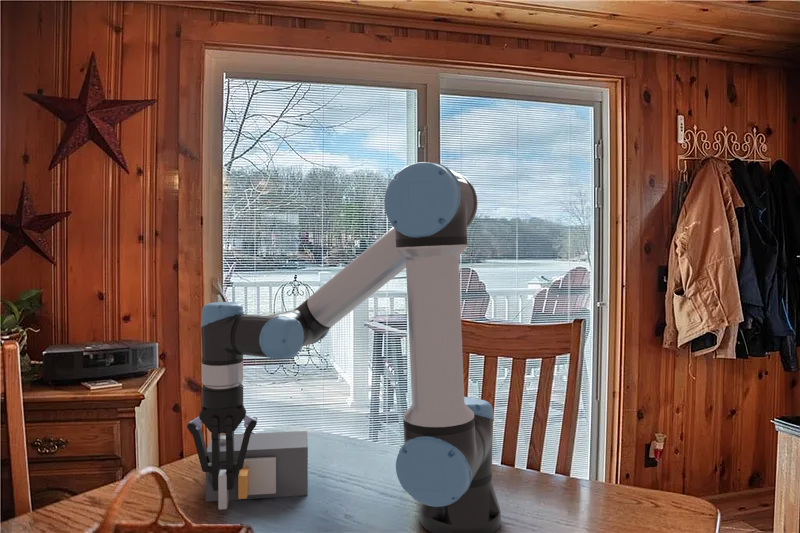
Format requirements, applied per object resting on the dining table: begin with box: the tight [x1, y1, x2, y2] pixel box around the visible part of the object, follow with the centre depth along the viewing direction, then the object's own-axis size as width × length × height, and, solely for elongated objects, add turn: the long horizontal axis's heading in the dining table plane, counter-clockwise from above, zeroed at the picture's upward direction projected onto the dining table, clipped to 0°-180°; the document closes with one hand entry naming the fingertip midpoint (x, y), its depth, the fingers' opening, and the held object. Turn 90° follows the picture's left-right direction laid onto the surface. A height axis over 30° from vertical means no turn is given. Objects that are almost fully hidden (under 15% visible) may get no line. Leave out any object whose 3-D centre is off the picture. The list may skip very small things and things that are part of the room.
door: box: [238, 457, 276, 500], centre depth 113 cm, size 6×7×7 cm
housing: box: [205, 430, 309, 503], centre depth 120 cm, size 12×20×11 cm, turn 100°
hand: (223, 505), depth 111 cm, fingers closed
